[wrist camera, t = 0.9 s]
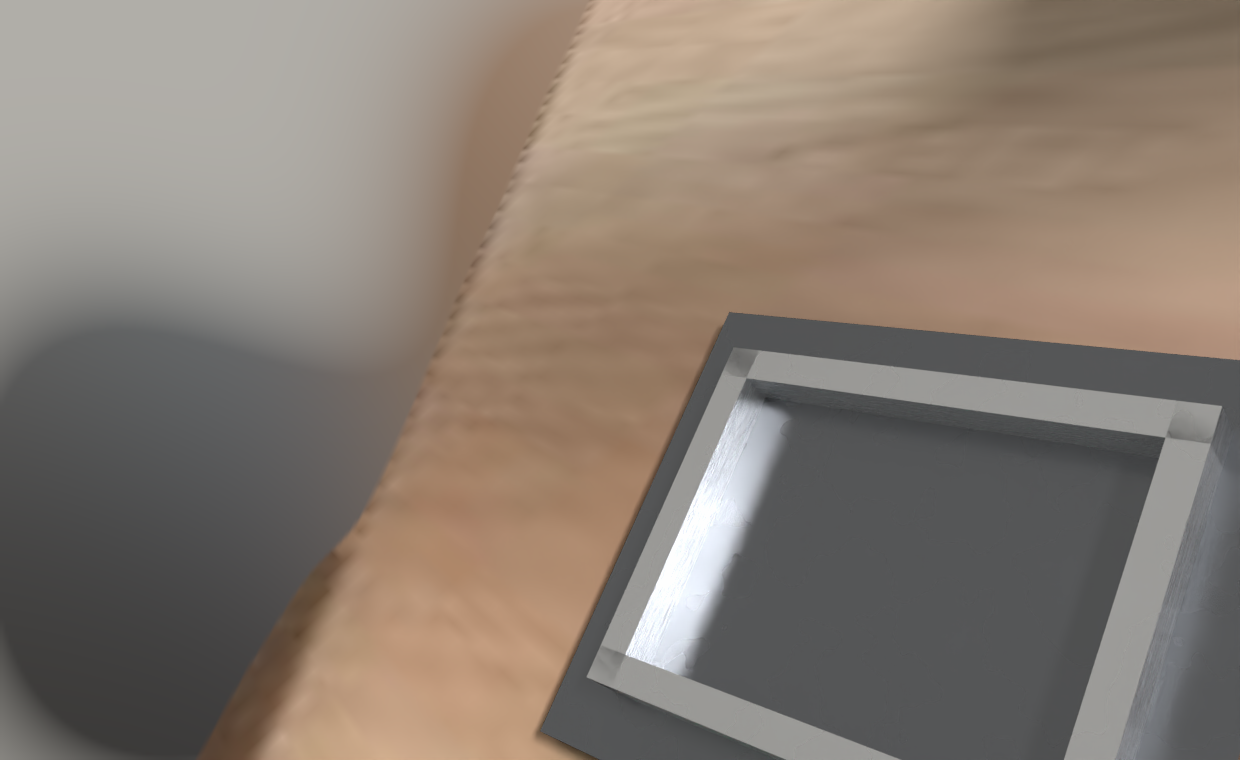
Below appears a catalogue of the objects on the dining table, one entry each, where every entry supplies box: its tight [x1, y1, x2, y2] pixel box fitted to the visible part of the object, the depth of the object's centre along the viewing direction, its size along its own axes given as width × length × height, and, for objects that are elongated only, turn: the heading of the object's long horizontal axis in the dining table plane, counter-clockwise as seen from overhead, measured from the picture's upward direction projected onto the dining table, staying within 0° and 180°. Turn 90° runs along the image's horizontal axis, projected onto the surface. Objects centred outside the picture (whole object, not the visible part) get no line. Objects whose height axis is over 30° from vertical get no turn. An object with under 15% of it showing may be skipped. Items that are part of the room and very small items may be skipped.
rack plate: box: [540, 312, 1240, 760], centre depth 38 cm, size 18×22×2 cm
